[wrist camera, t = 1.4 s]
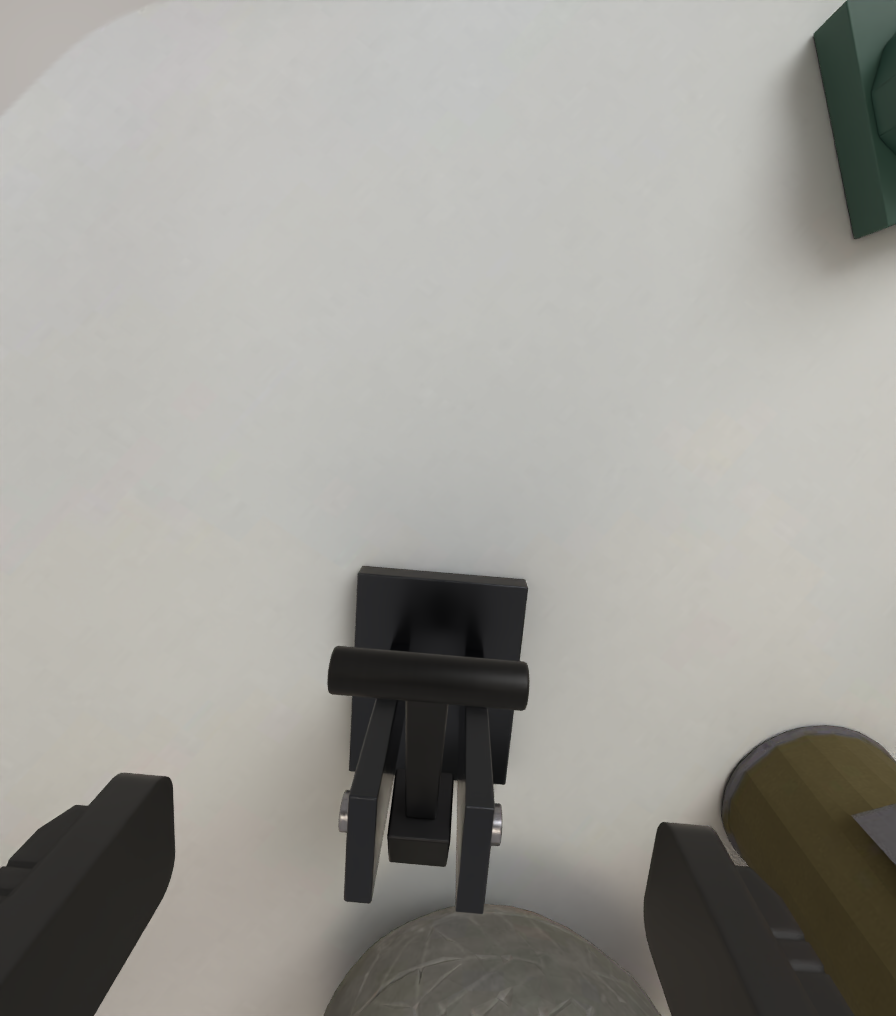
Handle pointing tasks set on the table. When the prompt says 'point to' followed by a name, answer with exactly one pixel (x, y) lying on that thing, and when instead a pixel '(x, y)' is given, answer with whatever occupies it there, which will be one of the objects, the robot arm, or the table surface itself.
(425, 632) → the bracket
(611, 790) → the table surface
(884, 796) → the canister
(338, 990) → the bowl
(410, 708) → the lever
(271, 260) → the table surface
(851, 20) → the button box
